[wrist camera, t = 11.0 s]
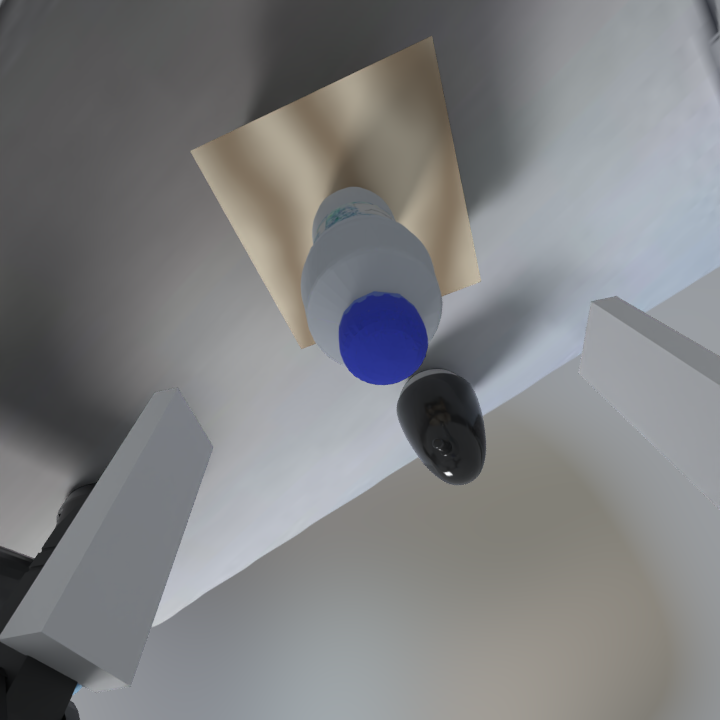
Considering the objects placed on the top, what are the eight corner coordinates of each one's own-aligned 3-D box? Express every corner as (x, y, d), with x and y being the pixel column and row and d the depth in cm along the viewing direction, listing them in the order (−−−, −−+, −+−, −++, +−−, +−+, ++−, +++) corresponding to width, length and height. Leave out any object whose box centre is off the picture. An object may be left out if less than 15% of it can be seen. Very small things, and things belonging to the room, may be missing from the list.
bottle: (409, 225, 30) (516, 354, 13) (352, 281, 32) (380, 452, 15) (352, 159, 27) (394, 216, 10) (293, 226, 29) (248, 363, 12)
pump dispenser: (443, 341, 46) (488, 425, 33) (478, 392, 51) (528, 481, 38) (376, 382, 48) (394, 474, 36) (416, 426, 53) (444, 521, 41)
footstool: (305, 313, 42) (301, 349, 35) (218, 145, 33) (190, 151, 26) (455, 255, 40) (481, 281, 33) (408, 55, 30) (432, 35, 23)
